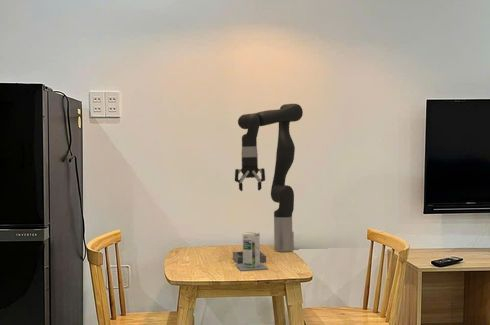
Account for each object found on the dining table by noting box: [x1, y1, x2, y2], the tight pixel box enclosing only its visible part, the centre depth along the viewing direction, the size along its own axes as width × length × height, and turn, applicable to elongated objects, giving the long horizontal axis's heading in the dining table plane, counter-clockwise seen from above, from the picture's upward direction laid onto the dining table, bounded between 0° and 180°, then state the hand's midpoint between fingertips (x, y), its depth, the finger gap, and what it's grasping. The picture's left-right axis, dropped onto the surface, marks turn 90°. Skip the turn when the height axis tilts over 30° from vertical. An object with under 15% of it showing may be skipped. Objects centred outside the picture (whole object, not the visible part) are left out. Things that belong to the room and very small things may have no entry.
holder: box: [232, 250, 267, 264], centre depth 226 cm, size 13×13×3 cm
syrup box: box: [242, 231, 261, 268], centre depth 212 cm, size 6×6×14 cm
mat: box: [234, 262, 269, 272], centre depth 212 cm, size 12×12×1 cm
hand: (250, 190), depth 231 cm, fingers open, 8 cm apart
